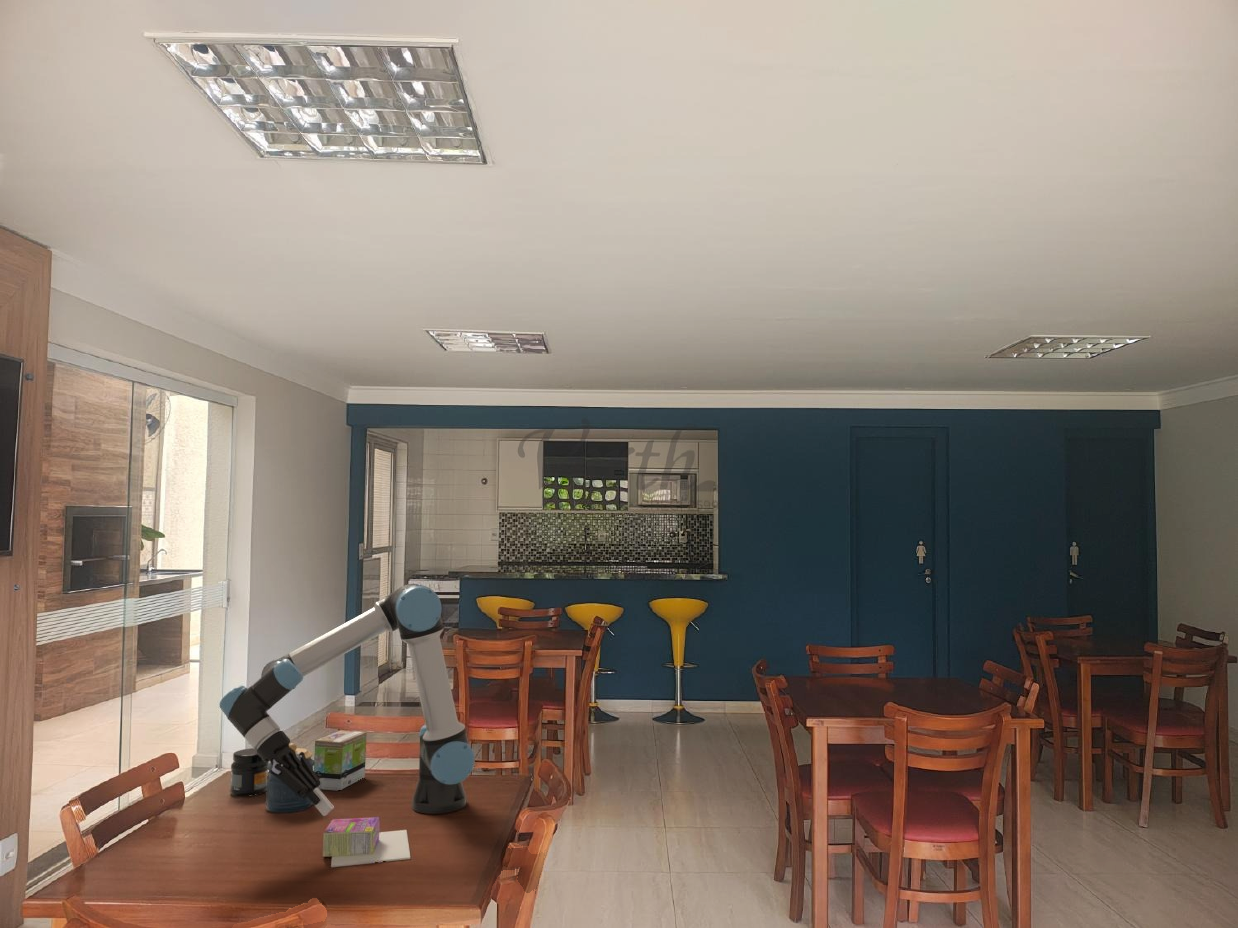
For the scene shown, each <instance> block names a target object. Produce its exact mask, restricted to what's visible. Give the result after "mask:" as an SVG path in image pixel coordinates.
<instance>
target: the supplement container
mask: <svg viewBox="0 0 1238 928" xmlns="http://www.w3.org/2000/svg"><path fill="white" fill-rule="evenodd" d="M232 760H233V762H232V763H231V765H230V789H229V792H230V795H232V796H234V797H238V796H248V797H250V796H249V795H255V794H259V795H261V794H263V793H265V792H267V777H268V774H269V770H268V769H267V765H268V764H269V763H270V761H268V762H264V761H263V760H262V758H261V757H260V756H259V755H258V754H257V749H253V747H250V748H244V749H240V750H236V751H234V752H233V754H232ZM260 793H261V794H260ZM255 796H256V795H255Z"/></svg>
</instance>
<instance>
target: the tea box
mask: <svg viewBox="0 0 1238 928" xmlns="http://www.w3.org/2000/svg"><path fill="white" fill-rule="evenodd" d="M366 754H367V731H355V730H354V731H353V730H352V731H351V730H338V731H336V732H333V733H330V734H329V735H326V736H323V737H321V738H318V739H316V740H314V755H313V756H314V757H313V760H314V761H315V764H314V766H313V771H314V772H315V774H316V775H317V777H318V779H319V780H320V785H319V786H318V788H319V789H320V790H321V791H322V790H324V791H326V790H327V791H338V790H341V791H342V790H343V789H346V788H347V787H349V786H351V785H353V784H355V783H357V782H359V781H361V780H363V779H364V778H365V776H366V762H367V761H366ZM362 778H363V779H362ZM360 779H361V780H360ZM358 780H359V781H358Z"/></svg>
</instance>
